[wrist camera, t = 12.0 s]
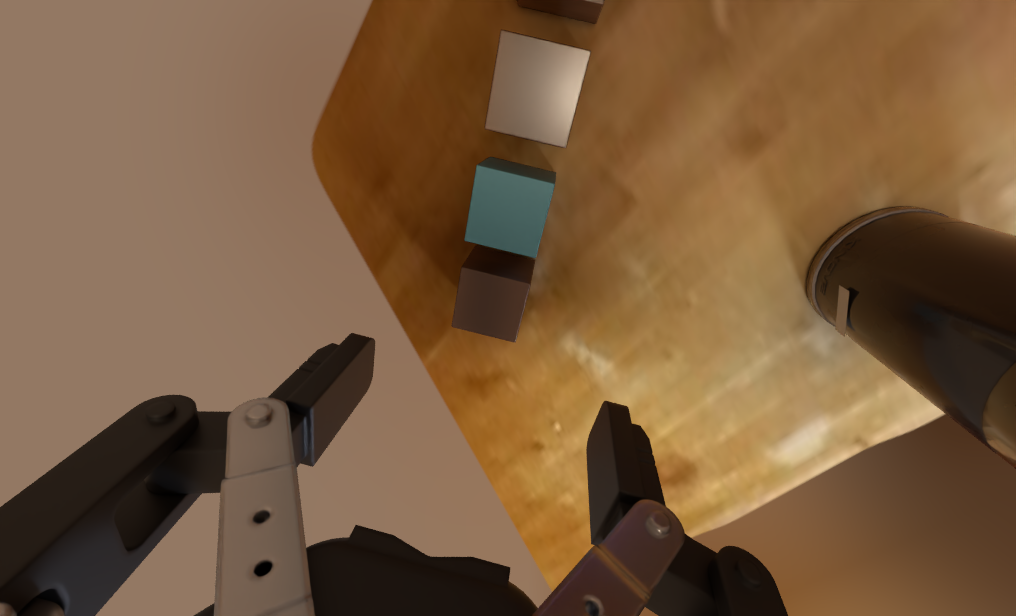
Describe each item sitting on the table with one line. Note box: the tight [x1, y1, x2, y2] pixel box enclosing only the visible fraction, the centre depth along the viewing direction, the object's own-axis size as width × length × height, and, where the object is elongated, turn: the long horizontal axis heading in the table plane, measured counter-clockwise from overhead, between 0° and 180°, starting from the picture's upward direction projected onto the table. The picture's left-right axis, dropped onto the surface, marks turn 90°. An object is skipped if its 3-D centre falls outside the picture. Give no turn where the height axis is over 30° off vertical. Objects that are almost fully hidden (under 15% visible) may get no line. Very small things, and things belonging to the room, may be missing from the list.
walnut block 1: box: [452, 246, 535, 342], centre depth 31 cm, size 5×5×5 cm
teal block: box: [464, 157, 556, 258], centre depth 28 cm, size 5×5×5 cm
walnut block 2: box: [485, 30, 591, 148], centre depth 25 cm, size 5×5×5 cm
